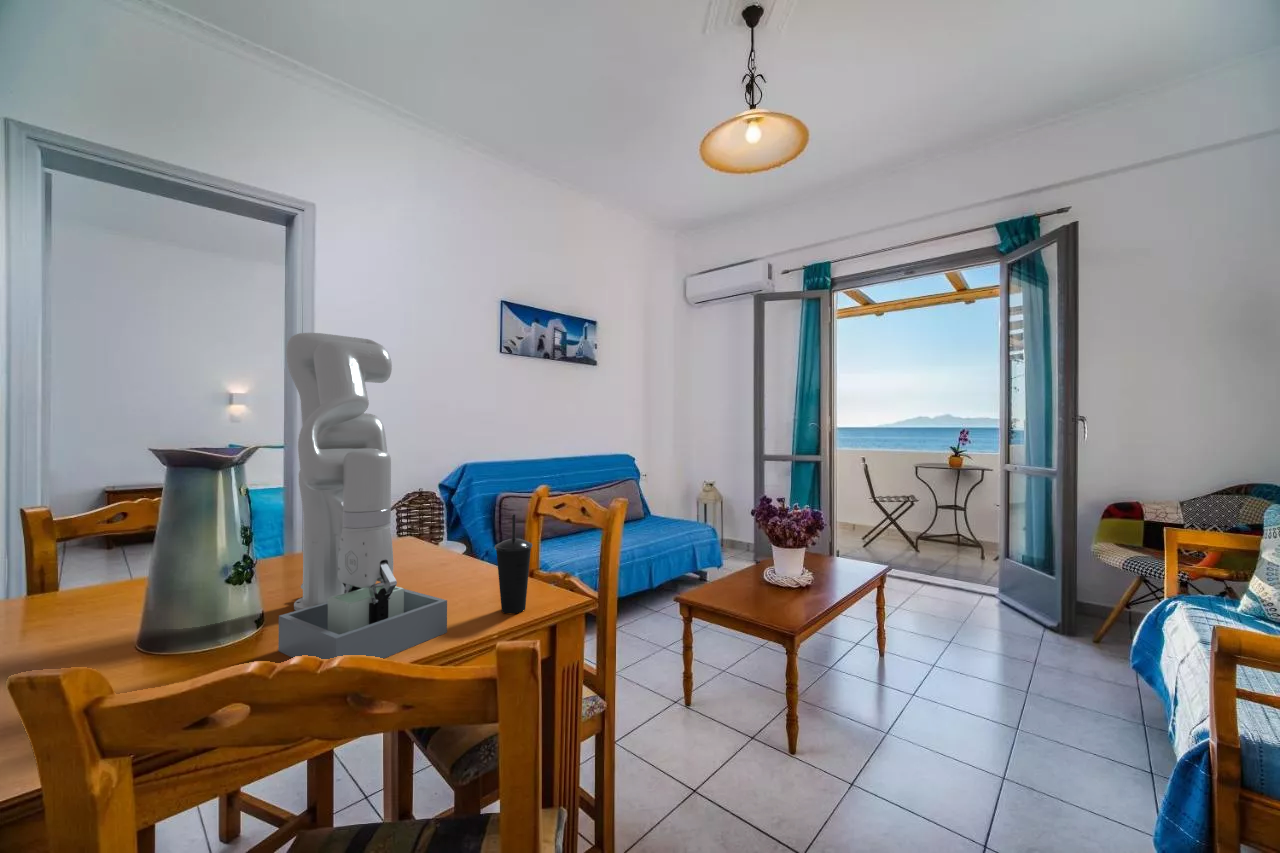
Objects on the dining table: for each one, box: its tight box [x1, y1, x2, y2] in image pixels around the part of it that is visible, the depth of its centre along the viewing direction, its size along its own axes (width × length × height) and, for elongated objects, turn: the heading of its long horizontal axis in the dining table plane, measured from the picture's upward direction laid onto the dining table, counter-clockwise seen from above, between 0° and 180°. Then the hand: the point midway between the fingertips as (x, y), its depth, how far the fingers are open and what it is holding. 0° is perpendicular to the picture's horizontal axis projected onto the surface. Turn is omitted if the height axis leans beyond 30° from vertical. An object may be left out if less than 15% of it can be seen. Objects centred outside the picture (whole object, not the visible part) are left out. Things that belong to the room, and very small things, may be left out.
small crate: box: [328, 585, 405, 635], centre depth 89 cm, size 6×10×6 cm, turn 149°
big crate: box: [277, 588, 448, 659], centre depth 89 cm, size 18×20×6 cm
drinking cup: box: [494, 514, 533, 614], centre depth 105 cm, size 8×8×20 cm
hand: (366, 619), depth 89 cm, fingers closed on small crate, 6 cm apart
